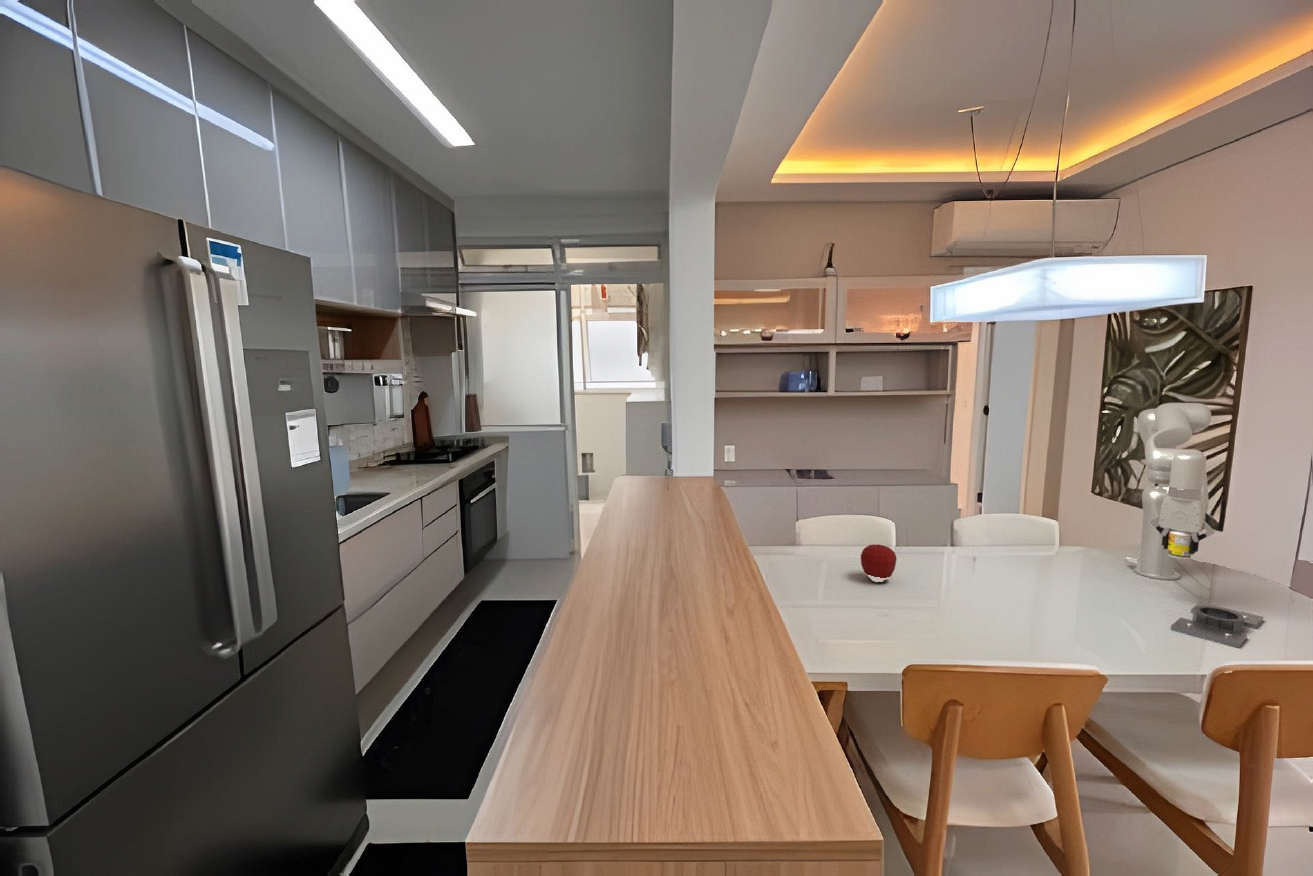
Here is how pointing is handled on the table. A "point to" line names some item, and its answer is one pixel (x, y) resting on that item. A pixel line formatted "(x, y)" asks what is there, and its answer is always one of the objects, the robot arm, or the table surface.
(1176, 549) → the supplement bottle
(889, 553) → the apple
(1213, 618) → the ring mounting bracket
